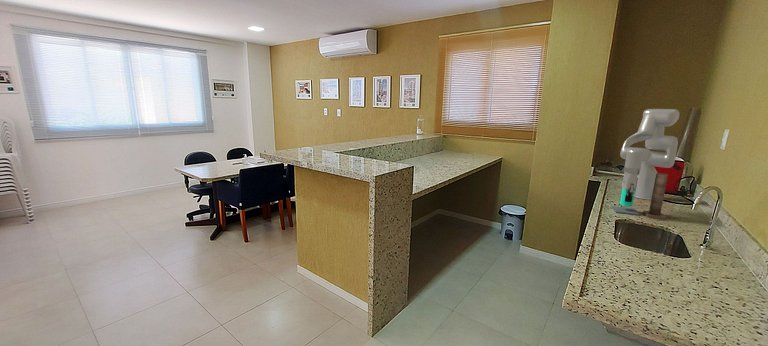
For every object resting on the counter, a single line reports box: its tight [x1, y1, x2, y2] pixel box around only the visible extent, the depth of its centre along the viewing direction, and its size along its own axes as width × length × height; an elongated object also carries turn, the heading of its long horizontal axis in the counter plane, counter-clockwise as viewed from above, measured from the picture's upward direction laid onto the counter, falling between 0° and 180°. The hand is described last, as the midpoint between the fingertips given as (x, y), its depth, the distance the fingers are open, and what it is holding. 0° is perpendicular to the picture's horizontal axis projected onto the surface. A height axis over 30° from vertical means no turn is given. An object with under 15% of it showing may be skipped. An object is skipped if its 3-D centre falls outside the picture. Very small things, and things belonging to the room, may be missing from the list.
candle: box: [619, 187, 636, 207], centre depth 186 cm, size 6×6×12 cm
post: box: [642, 172, 669, 220], centre depth 178 cm, size 8×8×25 cm
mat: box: [611, 205, 640, 216], centre depth 188 cm, size 11×11×1 cm
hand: (626, 200), depth 187 cm, fingers closed on candle, 4 cm apart
